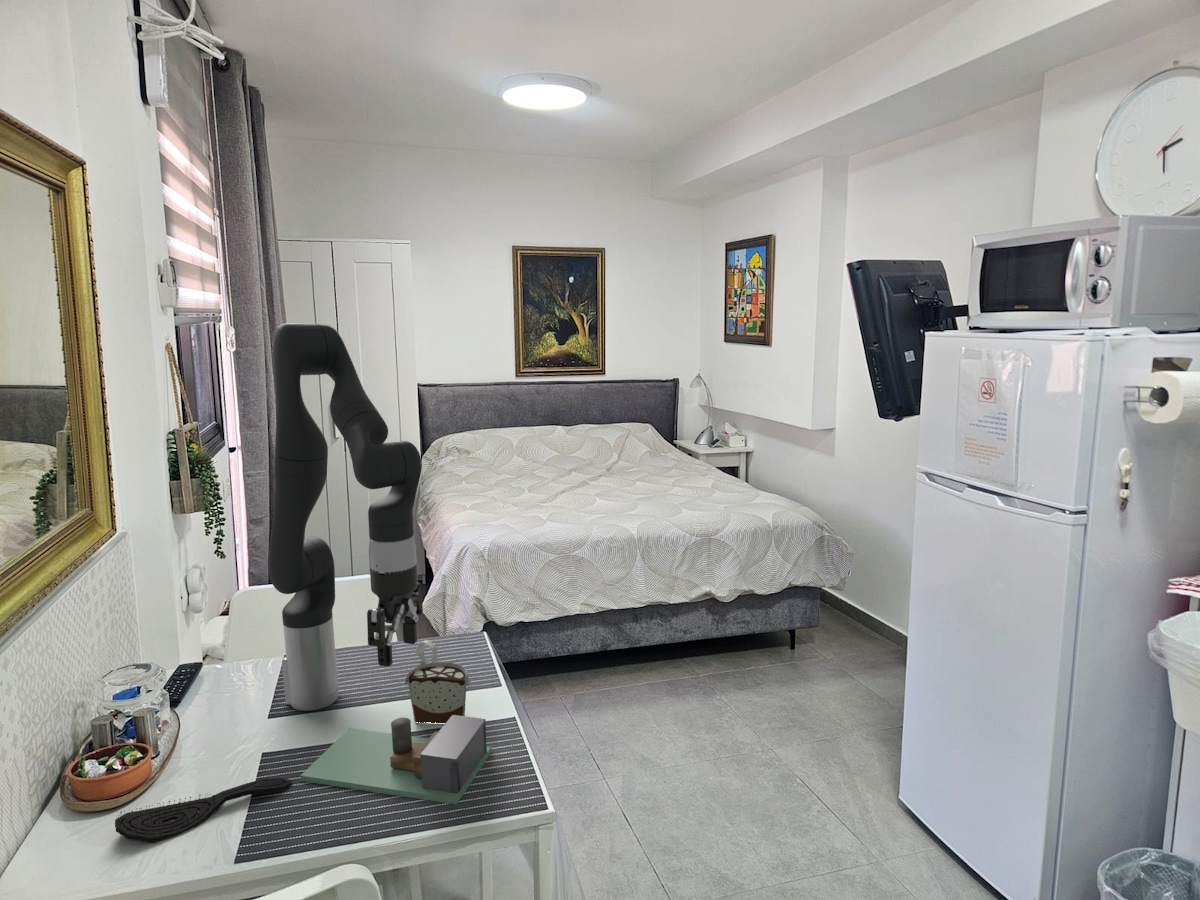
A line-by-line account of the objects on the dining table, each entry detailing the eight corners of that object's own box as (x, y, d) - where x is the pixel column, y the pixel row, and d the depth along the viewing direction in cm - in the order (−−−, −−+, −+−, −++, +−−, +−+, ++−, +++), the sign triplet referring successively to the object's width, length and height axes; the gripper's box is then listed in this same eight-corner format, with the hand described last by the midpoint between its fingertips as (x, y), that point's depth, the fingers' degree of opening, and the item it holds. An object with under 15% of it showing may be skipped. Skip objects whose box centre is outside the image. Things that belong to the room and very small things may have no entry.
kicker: (383, 772, 131) (380, 734, 130) (405, 745, 139) (403, 709, 137) (423, 778, 129) (421, 739, 128) (444, 751, 137) (442, 714, 135)
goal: (422, 788, 127) (420, 754, 126) (454, 746, 139) (452, 714, 138) (458, 793, 125) (456, 759, 124) (486, 750, 137) (485, 718, 136)
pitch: (301, 780, 131) (300, 775, 131) (349, 733, 145) (349, 728, 145) (456, 804, 124) (456, 798, 124) (491, 751, 139) (491, 746, 138)
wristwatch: (425, 657, 176) (423, 636, 175) (440, 663, 173) (439, 642, 172) (415, 662, 173) (413, 641, 172) (430, 668, 170) (429, 647, 169)
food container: (479, 709, 153) (476, 661, 151) (470, 725, 147) (468, 676, 145) (417, 706, 154) (415, 659, 153) (407, 723, 148) (404, 674, 147)
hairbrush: (296, 782, 127) (115, 833, 113) (297, 803, 127) (117, 856, 114) (285, 758, 133) (113, 803, 120) (286, 778, 134) (115, 824, 120)
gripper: (393, 547, 136) (398, 634, 140) (349, 575, 123) (355, 670, 126) (433, 550, 135) (437, 638, 138) (392, 579, 121) (397, 676, 124)
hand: (398, 653), depth 132 cm, fingers open, 8 cm apart
